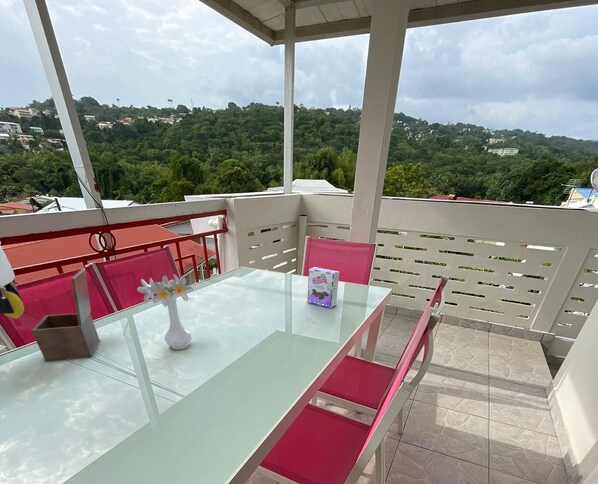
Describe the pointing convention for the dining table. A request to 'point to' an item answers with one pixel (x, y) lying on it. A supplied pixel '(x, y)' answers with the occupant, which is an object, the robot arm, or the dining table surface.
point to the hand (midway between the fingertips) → (12, 308)
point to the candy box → (323, 287)
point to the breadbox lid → (81, 295)
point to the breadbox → (65, 337)
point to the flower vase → (170, 307)
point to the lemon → (14, 305)
